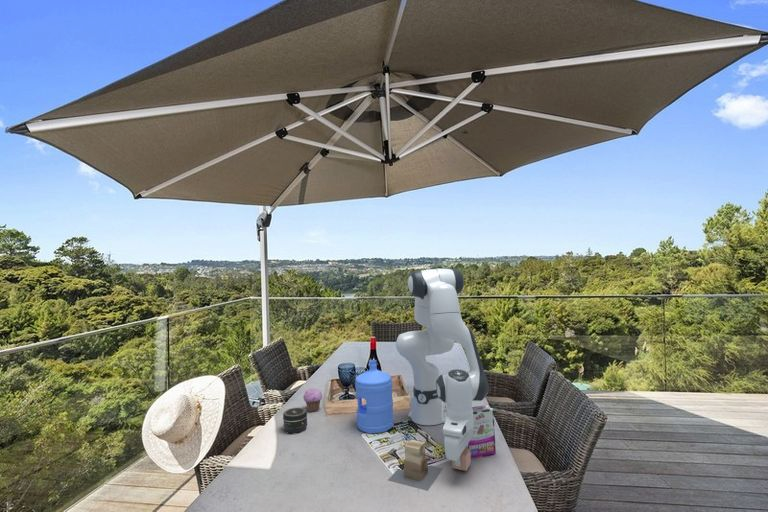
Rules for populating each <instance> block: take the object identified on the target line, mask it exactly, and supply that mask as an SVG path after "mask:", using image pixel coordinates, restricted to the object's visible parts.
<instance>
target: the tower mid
mask: <svg viewBox="0 0 768 512" xmlns="http://www.w3.org/2000/svg"><path fill="white" fill-rule="evenodd" d="M425 443H426V442H425V441H421V440H420V441H419V440H415V439H410V440H409V441H408V442H407V443H406V444H405V445H404V457H405V458H404V460H405V461H406V462H411V463H415V464H420V463H421V462H422V461H423V460H424V458H425V456H426V444H425Z"/></svg>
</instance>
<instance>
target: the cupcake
mask: <svg viewBox="0 0 768 512" xmlns="http://www.w3.org/2000/svg"><path fill="white" fill-rule="evenodd" d="M322 399H323V394H322V391H321V390H320V389H319V388H309V389H308V388H307V390H306V391H305V392H304V394H303V401H304V402H305V403H306V407H307V410H308V411H309V412H310V413H313V412H316V411H318V410H319V409H320V403H321V401H322Z"/></svg>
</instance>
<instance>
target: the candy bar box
mask: <svg viewBox="0 0 768 512" xmlns="http://www.w3.org/2000/svg"><path fill="white" fill-rule="evenodd" d="M472 409H473V423H474V426H473V437H472V438H471V440H470V442H469V443H468V449H470V453H471V459H474V458H480V457H487V456H492V455H495V454H497V453H496V450H497V449H496V448H497V447H496V433H495V416H494V415H495V414H494V408H493V407H491V406H490V405H489V404H483V405H478V406H472Z"/></svg>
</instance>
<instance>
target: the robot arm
mask: <svg viewBox="0 0 768 512" xmlns="http://www.w3.org/2000/svg"><path fill="white" fill-rule="evenodd" d="M464 279H465V278H464V276H463V273H462V272H461V271H460V270H459V269H457V268H430V269H424V270H421V269H419V270H418V269H417V270H414V271H411V273H410V274H409V275H408V279H407V287H408V288H407V289H409V293H410V294H411V295H412V296H413V297H414V313H413V314H414V315H413V316H414V317H413V318H414V320H415V322H416V323H418V324H419V325H420V326H422V327H424V328H425V329H423V330H410V331H406V332H403V333H400V334H398V336H397V339H396V341H395V347H396V351H397V353H398V354H399V355H400V356H401V357H402V358H404V359H405V360H407V362H408V363H409V365H410V366H411V369H412V375H413V388H412V389H413V390H412V393H413V396H412V397H411V399H410V412H408V415H407V416H408V417H409V418H410V419H411V421H412V422H413V423H415V424H417V425H421V426H436V425H441V424H443V427H442V434H443V435H444V440H443V442H444V443H443V444H444V454H445V458H446V460H448V461H451V462H452V461H455V465H456V466H458V467H460V465H461V459H460V456H461V454H462V452H463V451H464V449H465V448H467V449H468V443H469V442H470V440H471V438H472V437H473V426H474V423H473V409H472V407H473V401H477V402H479V401H483V400H484V399H485V398H486V397H487V396H488V394H489V392H490V387H489V382H488V379H487V375H486V373H485V371H484V367H483V365H482V364H483V363H482V361H481V356H480V353H479V350H478V345H477V341H476V339H475V336H474V333H473V331H472V328H471V327H470V326H467V325H466V324H465V322H464V320H463V319H462V314H461V306H460V300H459V296H458V294H461V293H462V292H463V289H464V286H465V285H464V284H465V280H464ZM455 342H456V343H458V344H459V345H460V346H462V348H463V350H464V352H465V356H466V359H467V362H468V363H467V364H468V367H469V371H466V370H465V369H464V370H463V369H458V368H457V369H452V370H450V371H448V372H447V373H443V374H440V370H439V368H438V367H437V365H435V364H434V363H431V362H429V361H427V359H426V358H427V356H434V355H442V354H445V353H448V352H451V351H452V349H453V348H454V345H455Z"/></svg>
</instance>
